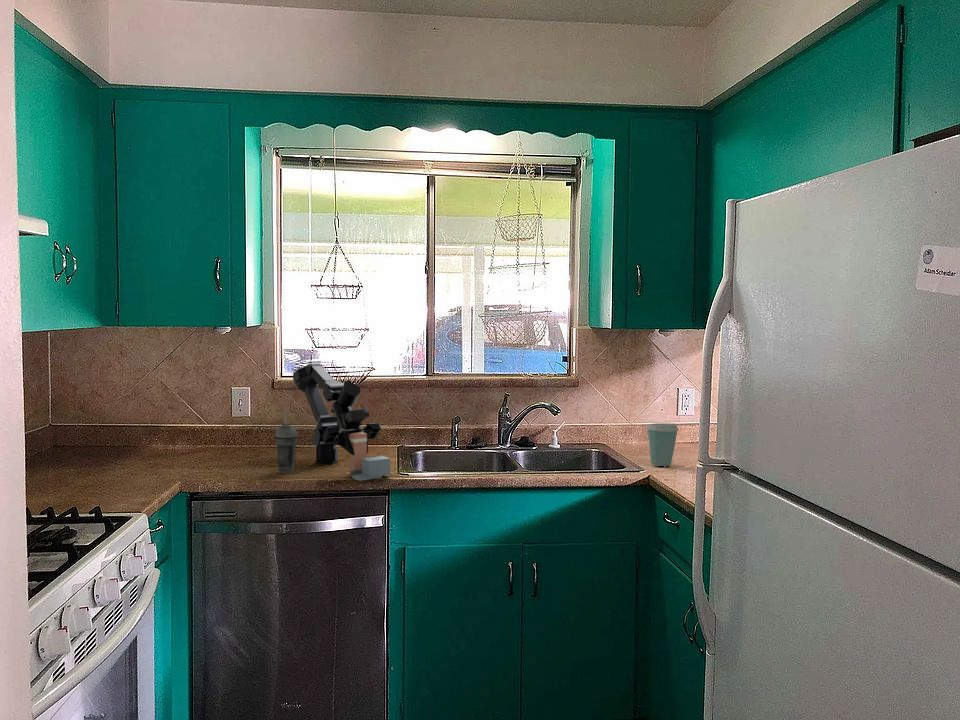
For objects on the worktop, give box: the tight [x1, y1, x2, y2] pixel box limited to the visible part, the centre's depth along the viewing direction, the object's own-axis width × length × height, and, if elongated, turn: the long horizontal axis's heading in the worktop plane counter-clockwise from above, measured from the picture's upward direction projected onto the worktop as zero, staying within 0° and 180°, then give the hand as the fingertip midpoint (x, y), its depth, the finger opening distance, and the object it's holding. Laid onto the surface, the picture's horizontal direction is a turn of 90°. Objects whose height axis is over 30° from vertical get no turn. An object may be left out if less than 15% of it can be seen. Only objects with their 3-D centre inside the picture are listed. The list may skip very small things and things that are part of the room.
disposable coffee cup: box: [646, 422, 679, 467], centre depth 270 cm, size 11×11×15 cm
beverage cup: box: [274, 410, 299, 474], centre depth 252 cm, size 7×7×20 cm
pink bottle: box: [349, 432, 368, 472], centre depth 249 cm, size 3×4×13 cm
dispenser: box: [349, 455, 391, 482], centre depth 246 cm, size 6×11×6 cm, turn 126°
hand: (360, 453), depth 248 cm, fingers closed on pink bottle, 4 cm apart
